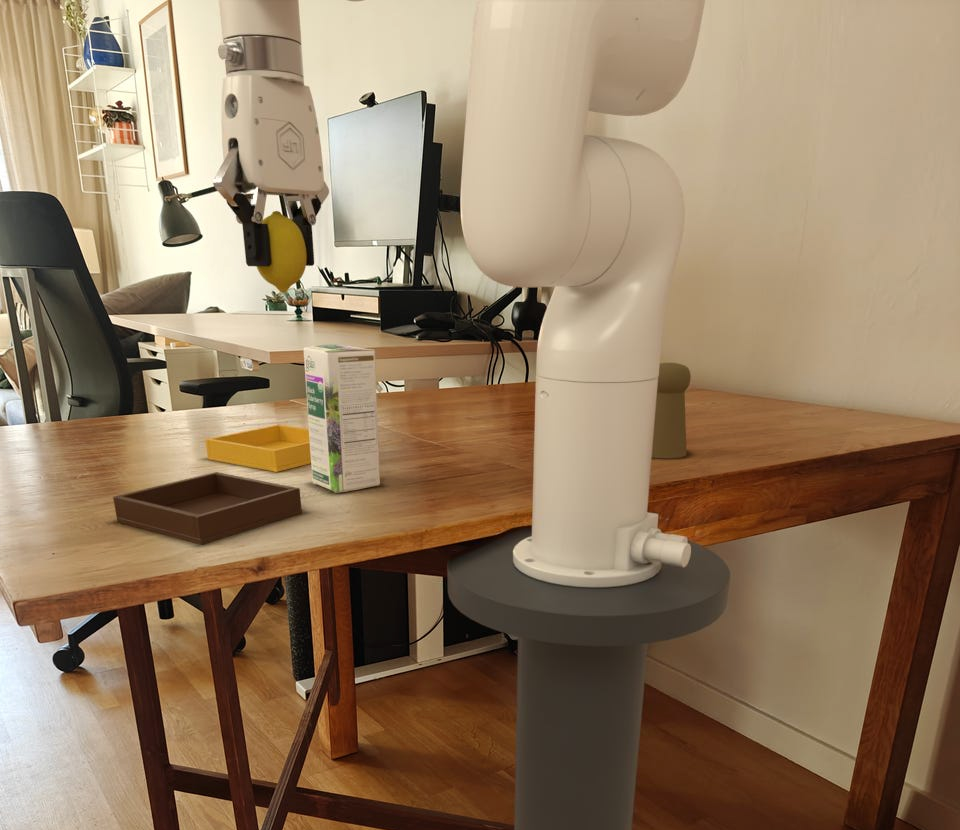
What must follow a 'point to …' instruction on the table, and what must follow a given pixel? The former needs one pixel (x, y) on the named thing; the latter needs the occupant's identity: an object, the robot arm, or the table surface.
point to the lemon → (284, 252)
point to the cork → (670, 411)
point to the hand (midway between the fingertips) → (281, 264)
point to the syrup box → (342, 416)
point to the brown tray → (207, 506)
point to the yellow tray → (263, 448)
